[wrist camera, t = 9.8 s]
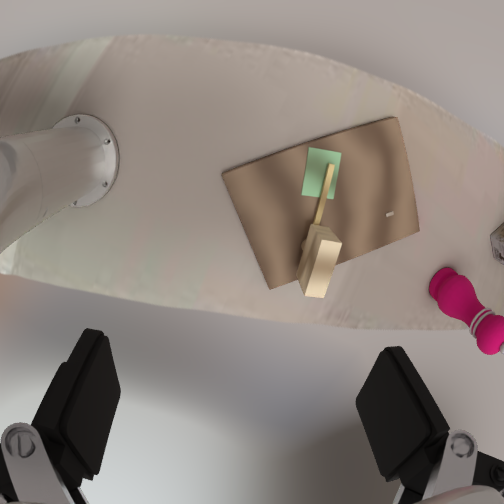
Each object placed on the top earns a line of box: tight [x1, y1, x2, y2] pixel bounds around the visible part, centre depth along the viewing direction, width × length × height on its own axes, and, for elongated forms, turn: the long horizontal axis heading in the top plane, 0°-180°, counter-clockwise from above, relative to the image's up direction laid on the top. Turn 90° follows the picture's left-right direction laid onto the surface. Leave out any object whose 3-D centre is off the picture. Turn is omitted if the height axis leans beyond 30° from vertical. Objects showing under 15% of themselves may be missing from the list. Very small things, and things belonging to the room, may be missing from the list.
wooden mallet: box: [296, 163, 342, 298], centre depth 34 cm, size 14×2×7 cm, turn 169°
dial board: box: [222, 117, 420, 290], centre depth 38 cm, size 24×17×2 cm
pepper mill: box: [429, 268, 504, 355], centre depth 36 cm, size 7×7×20 cm
